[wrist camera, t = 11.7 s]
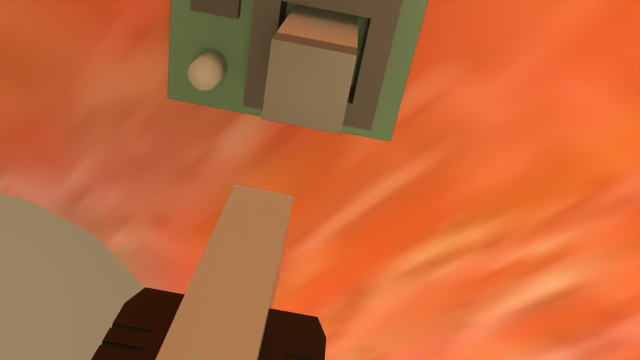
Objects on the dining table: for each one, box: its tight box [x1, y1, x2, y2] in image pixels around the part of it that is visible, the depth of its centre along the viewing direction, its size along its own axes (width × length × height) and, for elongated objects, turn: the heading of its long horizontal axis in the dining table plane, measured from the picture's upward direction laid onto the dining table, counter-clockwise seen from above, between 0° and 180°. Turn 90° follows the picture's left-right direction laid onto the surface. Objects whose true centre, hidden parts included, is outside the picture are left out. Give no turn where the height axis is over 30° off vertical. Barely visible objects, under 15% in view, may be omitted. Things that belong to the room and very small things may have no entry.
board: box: [168, 0, 428, 141], centre depth 32 cm, size 16×12×5 cm
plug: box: [261, 4, 358, 134], centre depth 29 cm, size 4×4×10 cm
